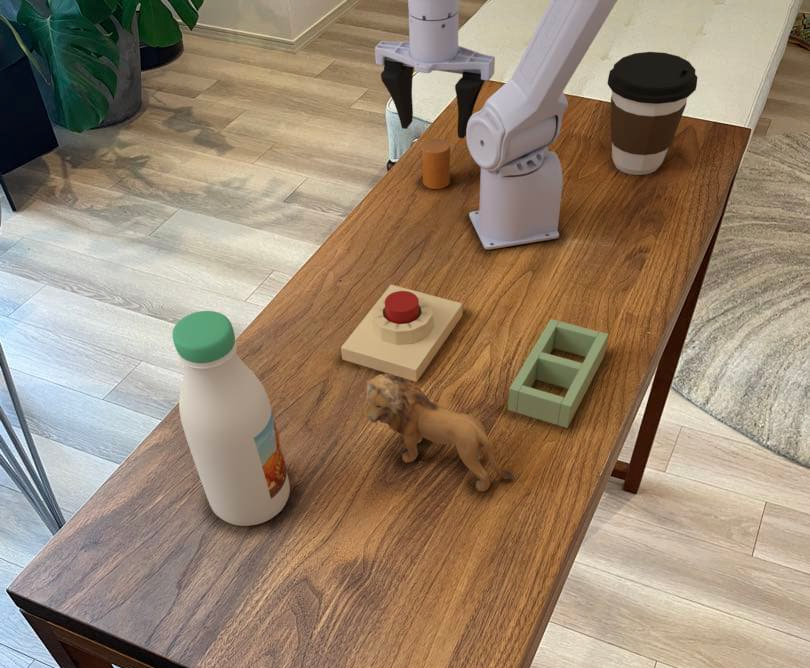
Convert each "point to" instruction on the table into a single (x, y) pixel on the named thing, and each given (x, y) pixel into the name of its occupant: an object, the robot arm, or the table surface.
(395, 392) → the lion figurine
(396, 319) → the button
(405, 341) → the box
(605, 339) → the pod holder
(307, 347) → the table surface
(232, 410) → the milk bottle
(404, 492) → the table surface
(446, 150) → the cylinder
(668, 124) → the coffee cup
